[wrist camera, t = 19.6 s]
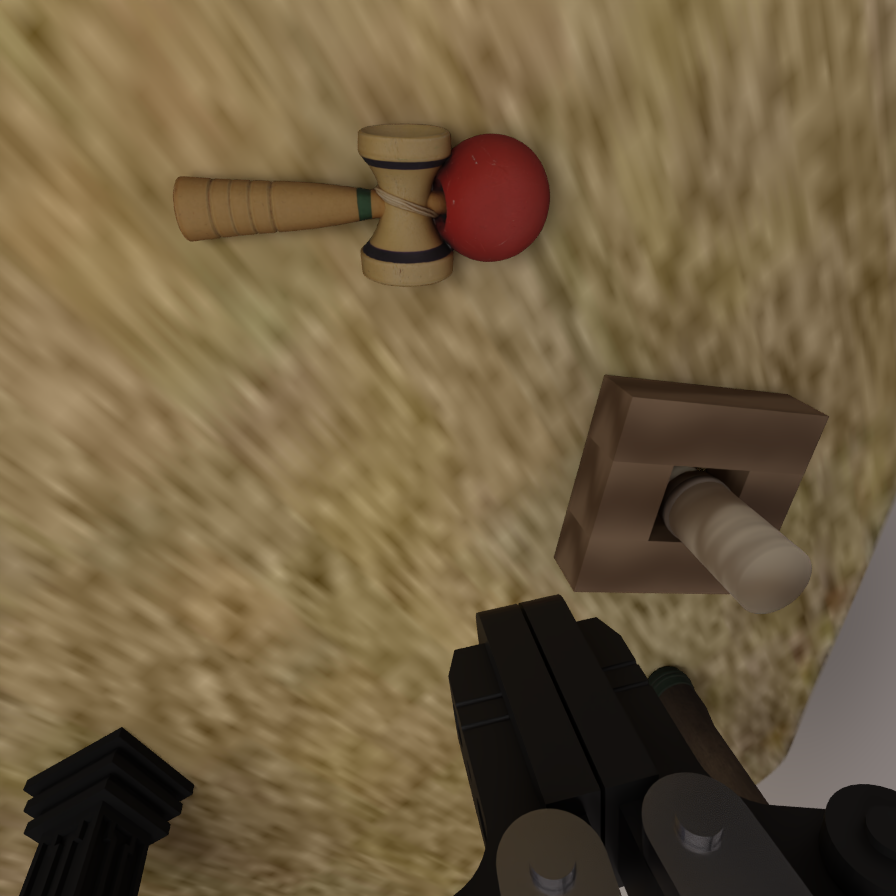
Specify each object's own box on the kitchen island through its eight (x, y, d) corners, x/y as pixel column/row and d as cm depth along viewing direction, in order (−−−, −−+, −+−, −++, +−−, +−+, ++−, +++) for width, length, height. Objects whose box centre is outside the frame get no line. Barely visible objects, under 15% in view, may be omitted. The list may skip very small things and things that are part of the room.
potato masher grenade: (595, 696, 54) (875, 1237, 27) (665, 625, 52) (1042, 1133, 25) (659, 728, 57) (964, 1235, 31) (728, 662, 55) (1116, 1144, 29)
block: (604, 374, 41) (632, 396, 37) (787, 394, 44) (829, 416, 41) (553, 557, 47) (574, 591, 43) (720, 562, 50) (751, 594, 46)
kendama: (216, 293, 36) (537, 279, 36) (175, 297, 30) (562, 280, 30) (196, 141, 34) (537, 129, 34) (147, 112, 28) (563, 98, 28)
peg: (646, 447, 44) (754, 544, 33) (704, 452, 45) (826, 547, 35) (627, 505, 46) (724, 615, 35) (684, 508, 47) (793, 615, 36)
